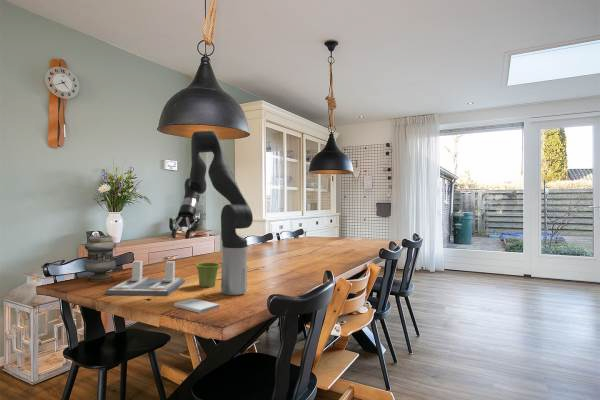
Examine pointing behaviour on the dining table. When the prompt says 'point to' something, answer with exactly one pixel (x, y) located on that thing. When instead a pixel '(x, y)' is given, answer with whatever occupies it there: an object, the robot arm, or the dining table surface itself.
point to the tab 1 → (137, 270)
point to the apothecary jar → (100, 257)
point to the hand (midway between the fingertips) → (179, 237)
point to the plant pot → (207, 274)
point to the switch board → (146, 287)
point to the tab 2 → (169, 271)
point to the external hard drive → (196, 305)
